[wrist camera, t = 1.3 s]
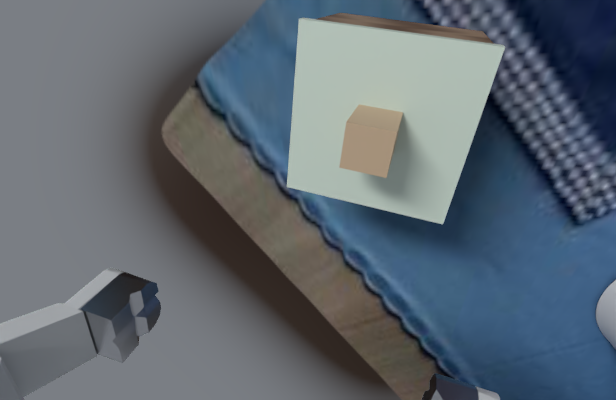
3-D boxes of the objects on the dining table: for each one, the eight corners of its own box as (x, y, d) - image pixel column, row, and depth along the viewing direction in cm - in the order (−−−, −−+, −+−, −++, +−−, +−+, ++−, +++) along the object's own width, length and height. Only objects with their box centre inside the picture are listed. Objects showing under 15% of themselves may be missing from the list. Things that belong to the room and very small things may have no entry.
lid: (502, 44, 22) (516, 58, 18) (442, 217, 28) (443, 256, 24) (303, 17, 24) (275, 23, 20) (291, 181, 31) (267, 211, 27)
